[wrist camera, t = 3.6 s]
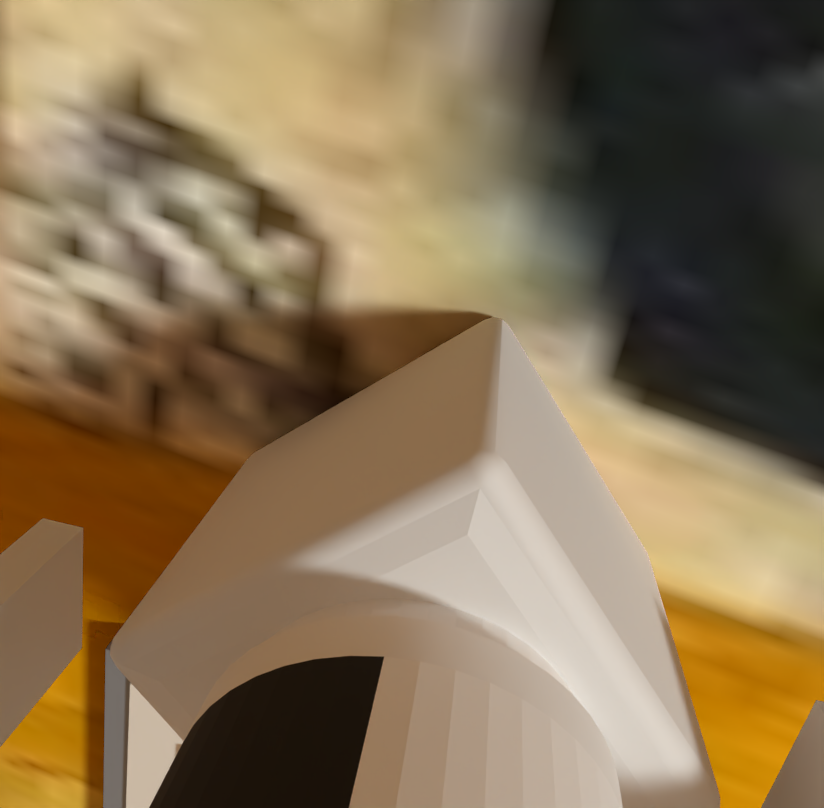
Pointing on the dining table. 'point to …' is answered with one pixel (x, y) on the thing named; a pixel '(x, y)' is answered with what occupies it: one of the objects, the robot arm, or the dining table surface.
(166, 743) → the picture board
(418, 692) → the medicine bottle
